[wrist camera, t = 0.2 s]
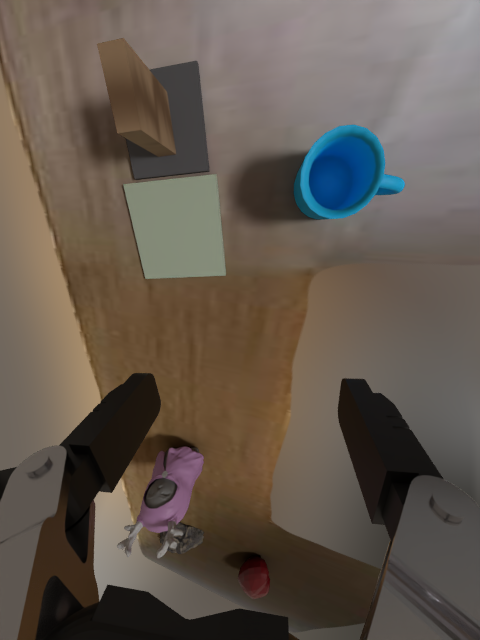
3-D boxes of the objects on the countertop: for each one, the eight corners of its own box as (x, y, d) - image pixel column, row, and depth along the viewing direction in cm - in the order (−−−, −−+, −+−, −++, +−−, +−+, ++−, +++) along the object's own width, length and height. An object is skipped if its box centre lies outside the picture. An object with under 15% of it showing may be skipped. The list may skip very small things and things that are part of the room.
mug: (288, 216, 32) (293, 214, 25) (300, 146, 29) (309, 121, 22) (374, 225, 31) (406, 226, 24) (397, 155, 28) (442, 131, 21)
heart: (240, 571, 76) (269, 568, 75) (240, 606, 68) (272, 604, 68) (235, 550, 71) (266, 548, 71) (234, 586, 64) (269, 584, 64)
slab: (147, 94, 28) (97, 43, 20) (166, 91, 28) (123, 38, 20) (158, 156, 31) (117, 133, 23) (176, 154, 31) (141, 129, 22)
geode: (203, 521, 69) (157, 513, 71) (200, 538, 65) (151, 528, 67) (206, 552, 77) (164, 543, 78) (202, 568, 73) (159, 559, 75)
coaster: (115, 79, 29) (112, 76, 28) (198, 64, 27) (196, 60, 27) (136, 179, 33) (134, 178, 32) (209, 171, 31) (208, 170, 31)
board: (125, 184, 34) (123, 184, 33) (216, 174, 31) (216, 174, 31) (146, 278, 39) (145, 278, 39) (226, 274, 37) (225, 275, 36)
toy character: (202, 431, 52) (165, 543, 34) (212, 461, 56) (183, 576, 38) (155, 432, 55) (96, 537, 37) (167, 461, 59) (120, 569, 40)
